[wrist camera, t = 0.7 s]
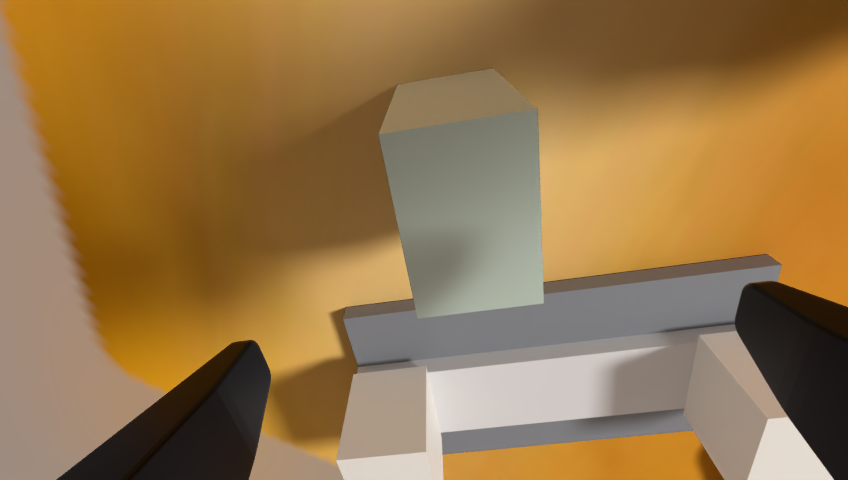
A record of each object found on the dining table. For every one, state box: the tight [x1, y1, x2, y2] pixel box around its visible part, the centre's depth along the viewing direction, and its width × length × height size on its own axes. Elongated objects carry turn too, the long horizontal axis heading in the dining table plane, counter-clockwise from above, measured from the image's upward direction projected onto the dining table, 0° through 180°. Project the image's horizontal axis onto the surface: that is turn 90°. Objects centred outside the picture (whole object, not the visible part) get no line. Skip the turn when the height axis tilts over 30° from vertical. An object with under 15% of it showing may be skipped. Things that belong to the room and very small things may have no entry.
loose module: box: [378, 68, 544, 319], centre depth 15 cm, size 4×6×8 cm, turn 9°
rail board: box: [336, 254, 834, 480], centre depth 22 cm, size 22×12×7 cm, turn 99°
